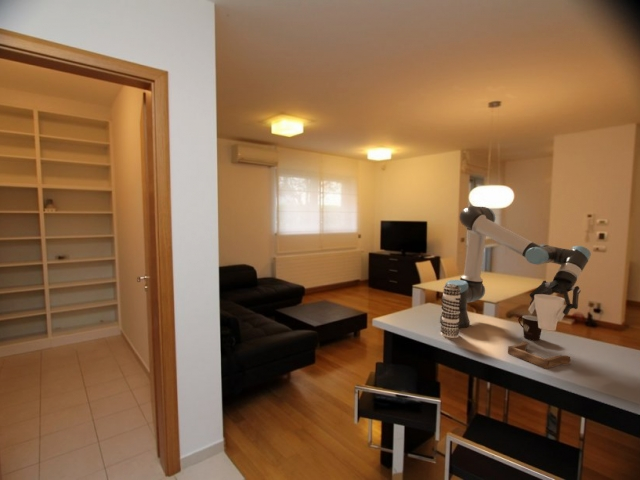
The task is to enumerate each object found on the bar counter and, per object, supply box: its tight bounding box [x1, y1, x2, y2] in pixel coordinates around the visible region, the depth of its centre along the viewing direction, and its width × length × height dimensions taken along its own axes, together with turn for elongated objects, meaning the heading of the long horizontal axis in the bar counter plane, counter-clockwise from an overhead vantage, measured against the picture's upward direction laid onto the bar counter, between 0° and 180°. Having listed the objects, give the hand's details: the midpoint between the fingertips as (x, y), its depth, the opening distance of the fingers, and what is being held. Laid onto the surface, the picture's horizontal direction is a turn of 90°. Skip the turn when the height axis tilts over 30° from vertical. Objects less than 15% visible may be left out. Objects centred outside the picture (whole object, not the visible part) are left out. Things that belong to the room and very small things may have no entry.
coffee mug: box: [518, 315, 543, 342], centre depth 158 cm, size 12×9×10 cm
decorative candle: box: [440, 283, 462, 339], centre depth 158 cm, size 9×9×25 cm
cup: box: [534, 294, 566, 332], centre depth 135 cm, size 10×10×14 cm
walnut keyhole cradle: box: [507, 340, 571, 370], centre depth 134 cm, size 19×14×3 cm
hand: (543, 315), depth 134 cm, fingers closed on cup, 10 cm apart
